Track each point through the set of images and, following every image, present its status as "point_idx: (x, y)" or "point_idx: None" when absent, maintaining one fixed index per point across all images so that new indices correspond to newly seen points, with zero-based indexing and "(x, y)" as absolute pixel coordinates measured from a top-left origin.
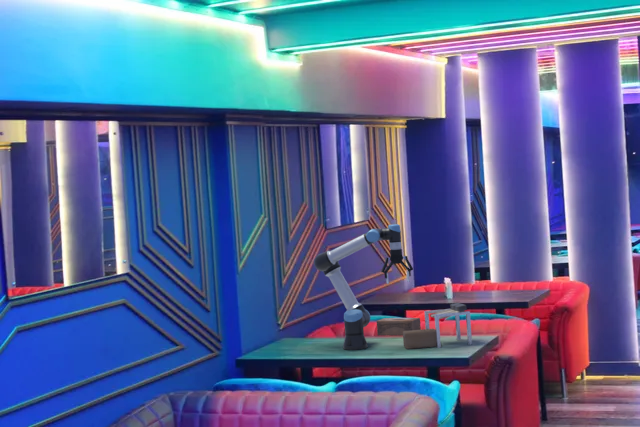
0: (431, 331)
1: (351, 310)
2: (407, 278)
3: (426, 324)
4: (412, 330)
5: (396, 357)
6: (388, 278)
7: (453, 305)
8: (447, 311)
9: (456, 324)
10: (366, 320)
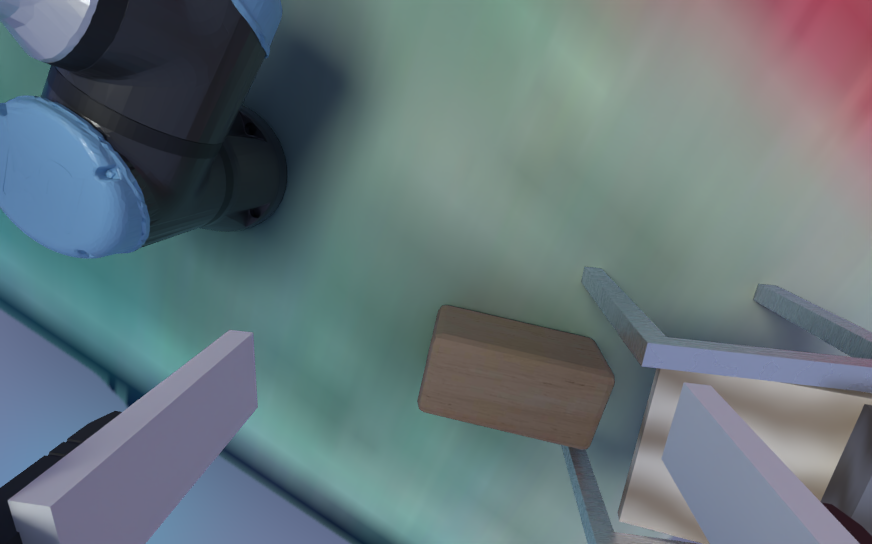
0: (557, 443)
1: (23, 132)
2: (713, 454)
3: (611, 322)
4: (484, 362)
5: (332, 490)
6: (193, 483)
7: (864, 501)
8: (787, 439)
9: (818, 331)
10: (224, 127)
